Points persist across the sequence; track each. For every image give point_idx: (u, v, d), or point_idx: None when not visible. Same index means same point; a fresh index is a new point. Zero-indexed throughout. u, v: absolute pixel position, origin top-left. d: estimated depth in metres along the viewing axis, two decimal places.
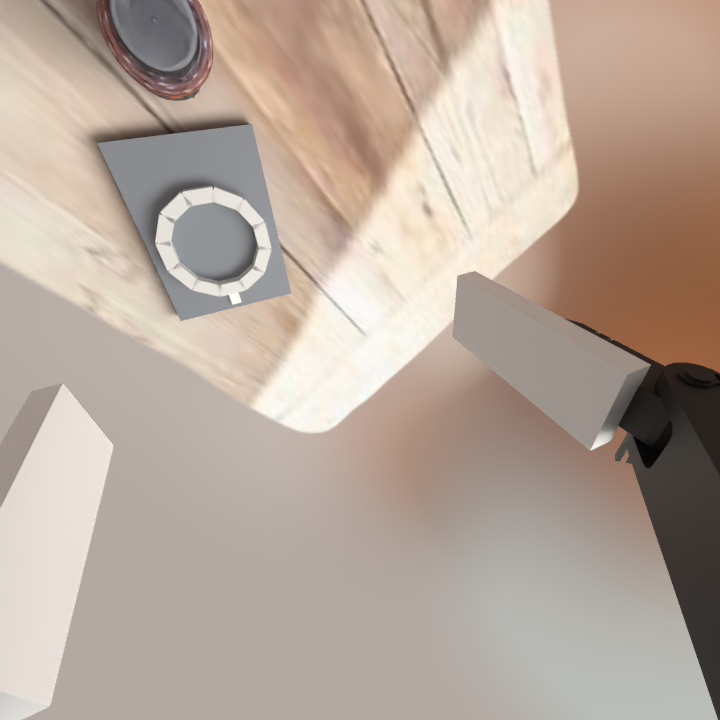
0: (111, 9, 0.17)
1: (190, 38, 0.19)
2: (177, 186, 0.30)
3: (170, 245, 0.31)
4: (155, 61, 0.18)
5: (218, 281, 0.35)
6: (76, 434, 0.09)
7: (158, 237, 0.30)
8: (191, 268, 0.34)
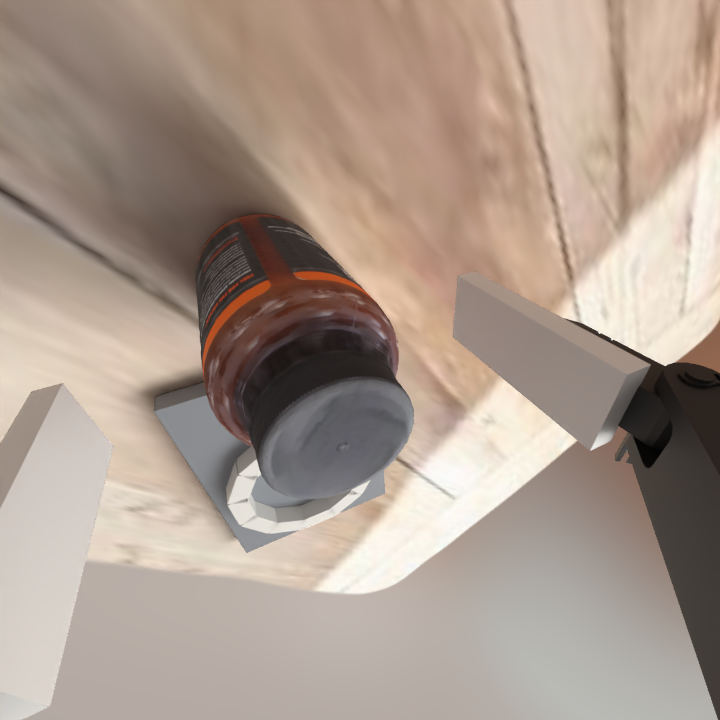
0: (262, 460, 0.07)
1: (399, 443, 0.09)
2: None
3: (247, 501, 0.22)
4: (327, 493, 0.09)
5: (300, 507, 0.26)
6: (76, 434, 0.09)
7: (232, 498, 0.21)
8: (267, 503, 0.24)
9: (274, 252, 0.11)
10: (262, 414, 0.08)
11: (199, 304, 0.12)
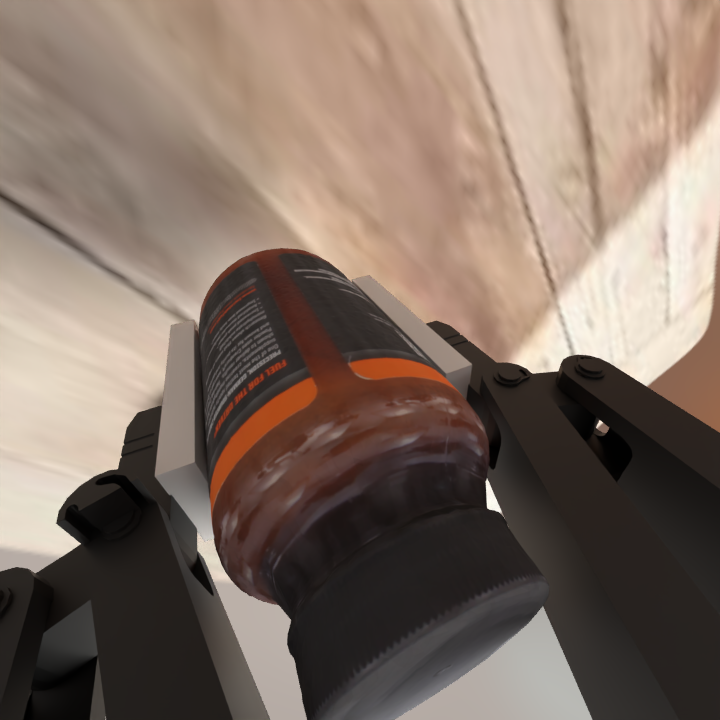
0: None
1: (516, 632, 0.06)
2: None
3: None
4: (405, 711, 0.06)
5: None
6: None
7: None
8: None
9: (312, 320, 0.07)
10: (316, 646, 0.04)
11: (204, 381, 0.09)
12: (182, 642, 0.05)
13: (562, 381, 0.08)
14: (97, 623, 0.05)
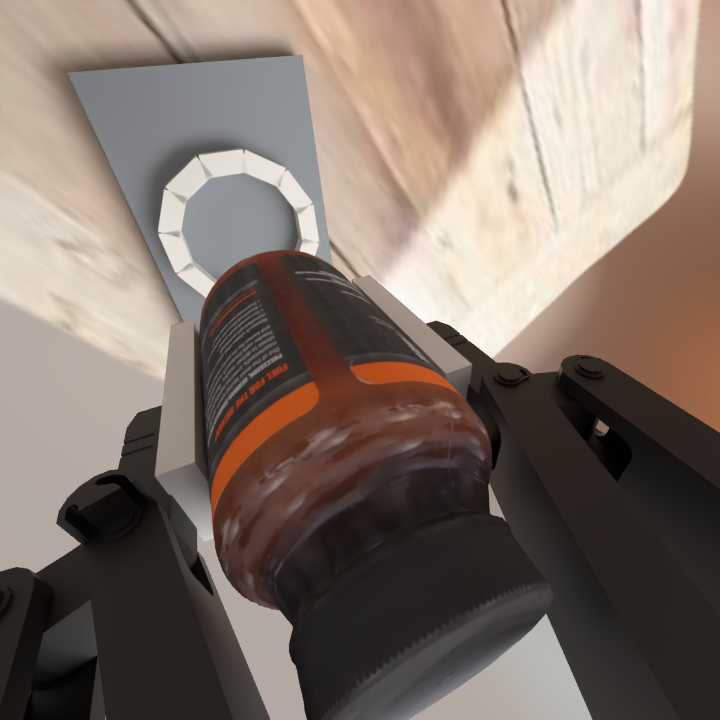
0: None
1: (519, 639, 0.06)
2: (191, 148, 0.20)
3: (180, 236, 0.21)
4: None
5: None
6: None
7: (162, 224, 0.21)
8: (208, 269, 0.24)
9: (313, 322, 0.07)
10: (319, 654, 0.04)
11: (204, 384, 0.09)
12: (182, 642, 0.05)
13: (562, 381, 0.08)
14: (96, 623, 0.05)
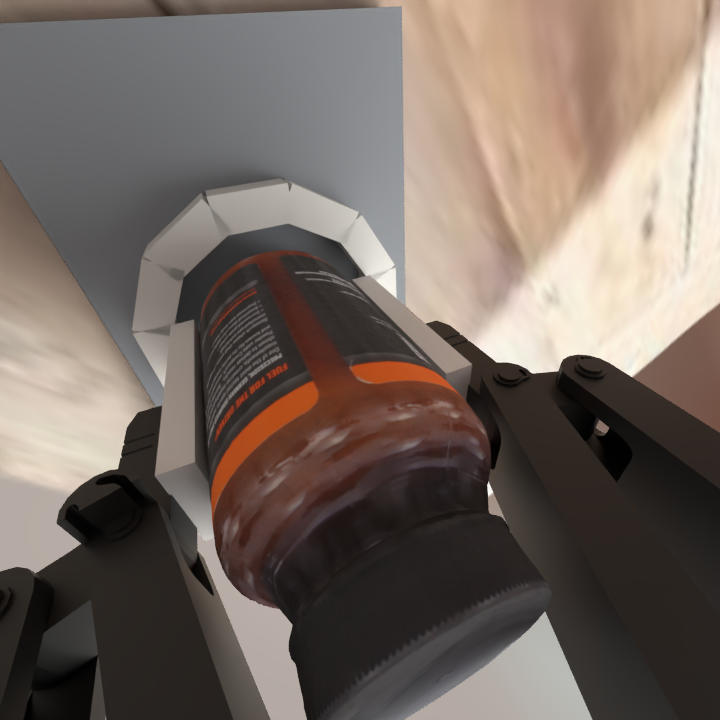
0: None
1: (518, 637, 0.06)
2: (192, 182, 0.11)
3: None
4: (406, 716, 0.06)
5: None
6: None
7: (140, 318, 0.11)
8: None
9: (313, 322, 0.07)
10: (317, 651, 0.04)
11: (204, 384, 0.09)
12: (182, 642, 0.05)
13: (562, 381, 0.08)
14: (97, 623, 0.05)
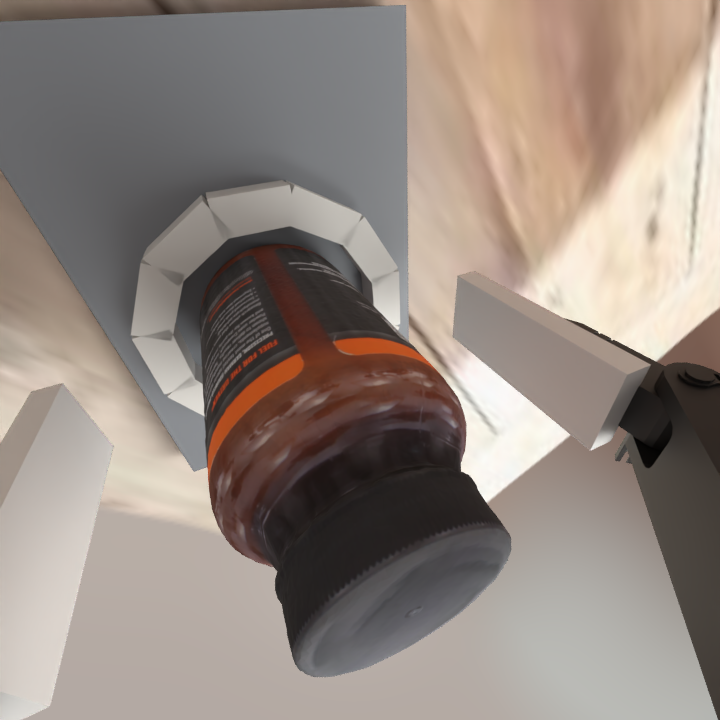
0: (298, 654, 0.05)
1: (485, 585, 0.06)
2: (192, 184, 0.11)
3: (172, 338, 0.12)
4: (383, 657, 0.06)
5: None
6: (76, 434, 0.09)
7: (139, 322, 0.11)
8: None
9: (302, 305, 0.08)
10: (298, 582, 0.05)
11: (203, 365, 0.09)
12: None
13: None
14: None
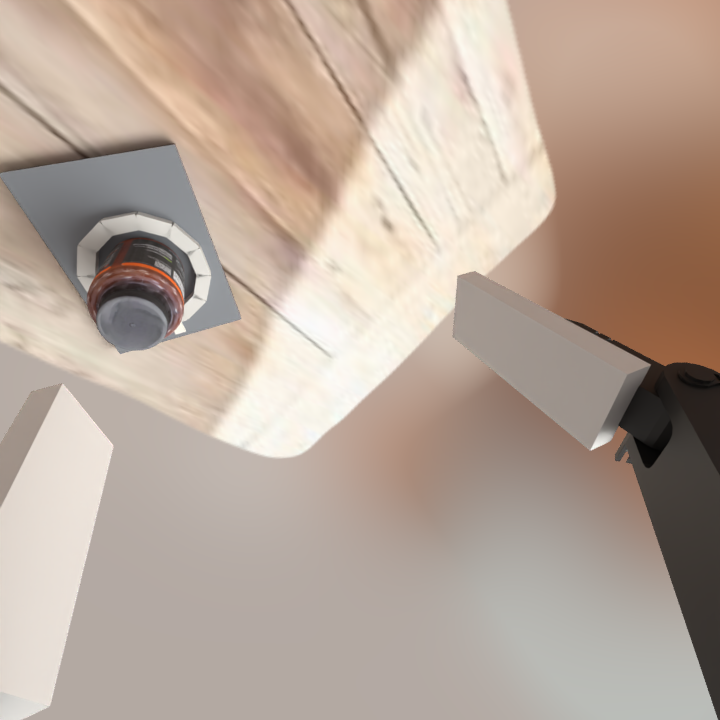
0: (98, 326, 0.22)
1: (161, 327, 0.23)
2: (97, 215, 0.28)
3: None
4: (134, 347, 0.23)
5: None
6: (76, 434, 0.09)
7: (79, 270, 0.28)
8: None
9: (123, 256, 0.25)
10: None
11: None
12: None
13: None
14: None
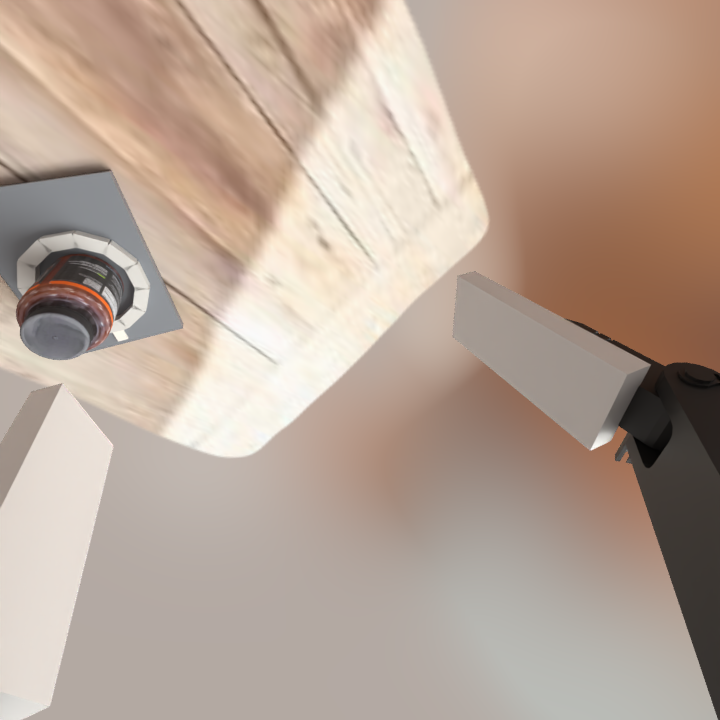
0: (22, 338, 0.24)
1: (84, 340, 0.26)
2: (37, 233, 0.30)
3: None
4: (58, 357, 0.26)
5: None
6: (76, 434, 0.09)
7: (20, 282, 0.31)
8: None
9: (55, 273, 0.28)
10: None
11: None
12: None
13: None
14: None
